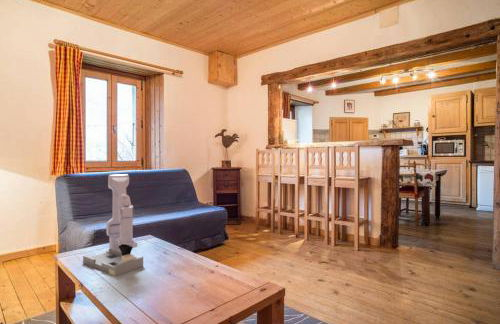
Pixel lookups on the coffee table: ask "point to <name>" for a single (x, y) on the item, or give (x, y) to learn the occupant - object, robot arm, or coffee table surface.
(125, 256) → the block
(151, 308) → the coffee table surface
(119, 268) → the board
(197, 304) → the coffee table surface
